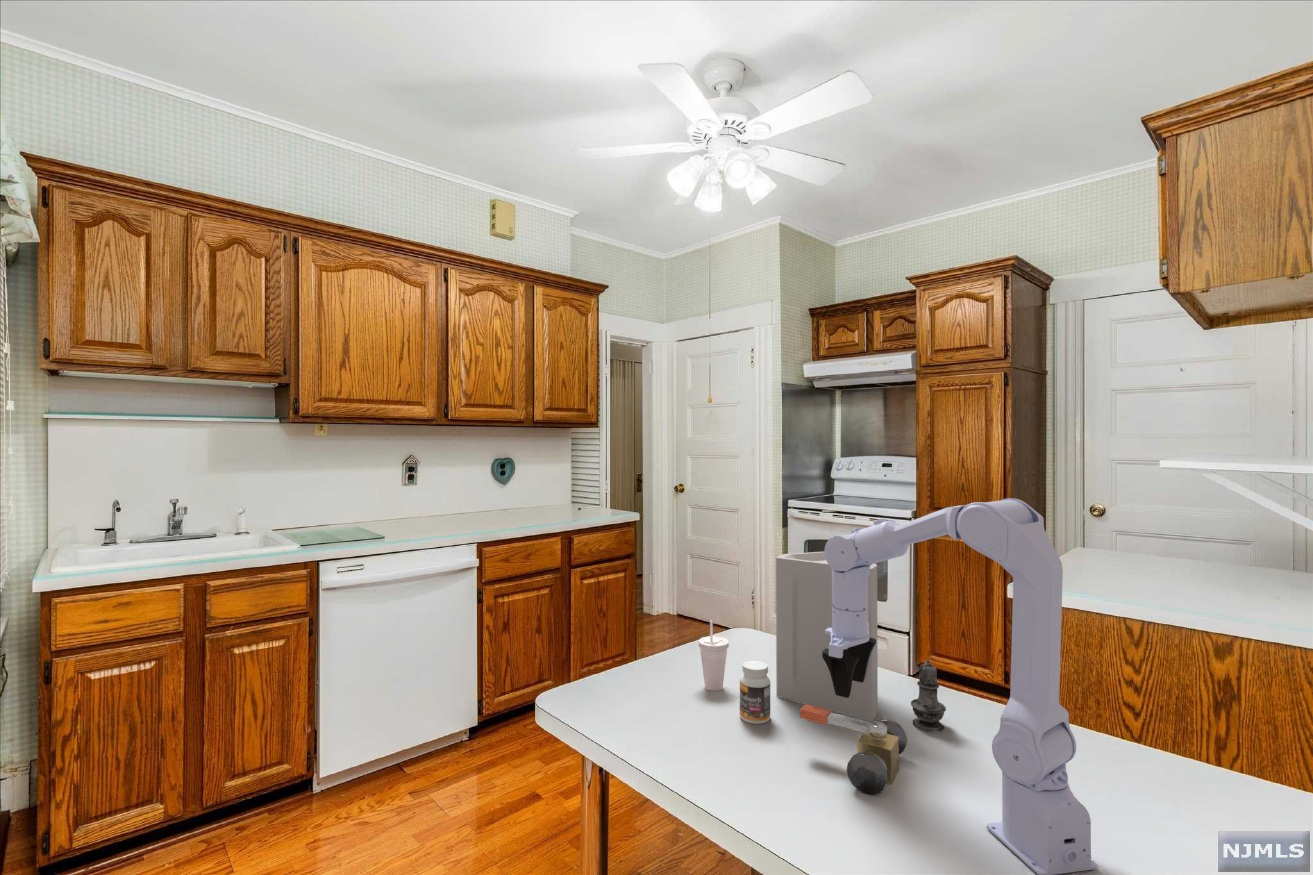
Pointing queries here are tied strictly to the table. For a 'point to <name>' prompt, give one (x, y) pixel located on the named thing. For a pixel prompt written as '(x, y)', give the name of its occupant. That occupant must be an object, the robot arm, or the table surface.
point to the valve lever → (843, 721)
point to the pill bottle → (755, 692)
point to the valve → (877, 759)
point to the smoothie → (713, 659)
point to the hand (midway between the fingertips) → (850, 688)
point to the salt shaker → (928, 701)
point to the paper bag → (817, 637)
